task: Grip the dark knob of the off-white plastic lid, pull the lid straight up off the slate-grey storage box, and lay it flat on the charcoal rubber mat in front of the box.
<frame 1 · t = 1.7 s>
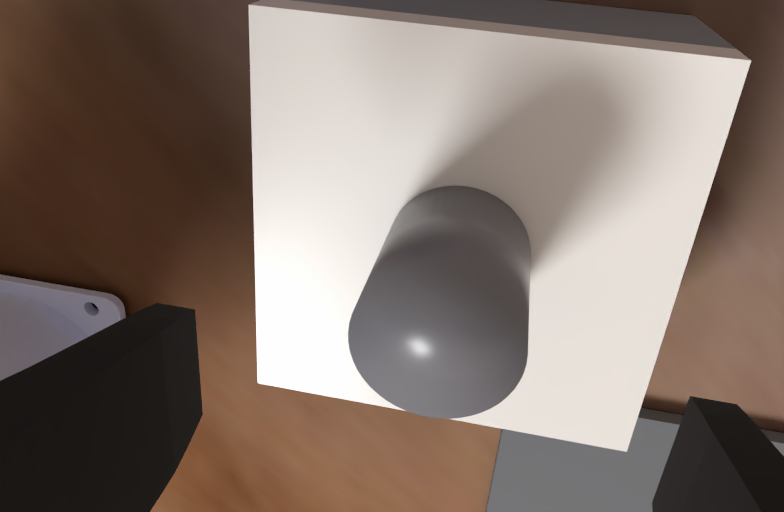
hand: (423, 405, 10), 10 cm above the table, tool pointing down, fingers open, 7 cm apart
lid: (466, 217, 16), point 3 cm above the table, touching storage box
storage box: (477, 169, 19), on the table
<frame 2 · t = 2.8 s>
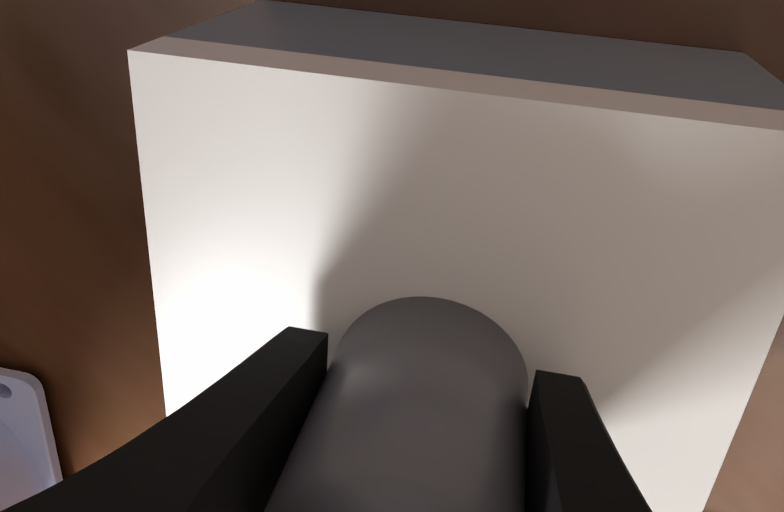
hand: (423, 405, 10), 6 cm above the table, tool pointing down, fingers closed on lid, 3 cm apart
lid: (443, 317, 12), point 3 cm above the table, touching gripper, storage box
storage box: (462, 239, 15), on the table
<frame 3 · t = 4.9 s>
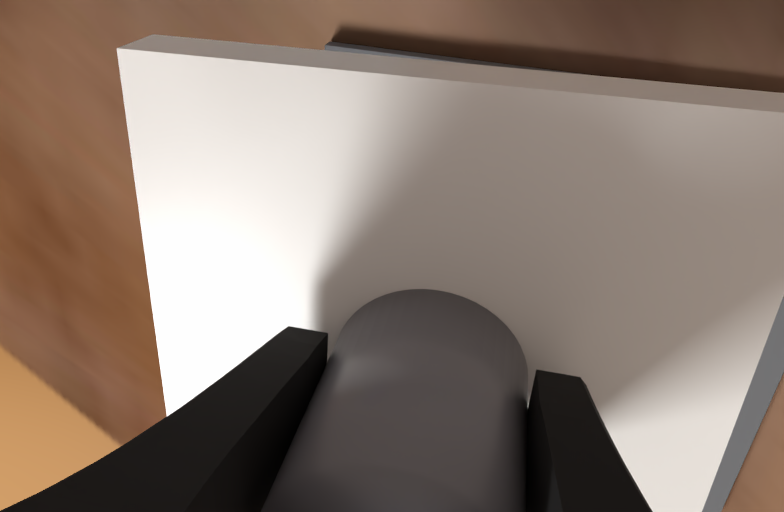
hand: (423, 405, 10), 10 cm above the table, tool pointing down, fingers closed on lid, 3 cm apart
lid: (442, 311, 12), point 8 cm above the table, touching gripper
mat: (543, 305, 21), on the table
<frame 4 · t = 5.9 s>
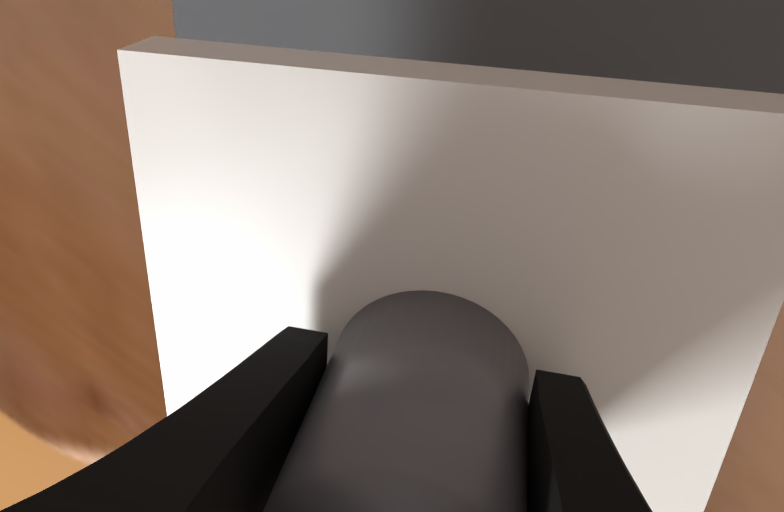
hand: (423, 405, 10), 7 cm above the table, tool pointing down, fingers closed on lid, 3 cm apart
lid: (443, 312, 12), point 5 cm above the table, touching gripper
mat: (468, 205, 17), on the table
when the fingers open (4 cm above the table, at t = 6.8 s): lid drops 1 cm, resting on mat.
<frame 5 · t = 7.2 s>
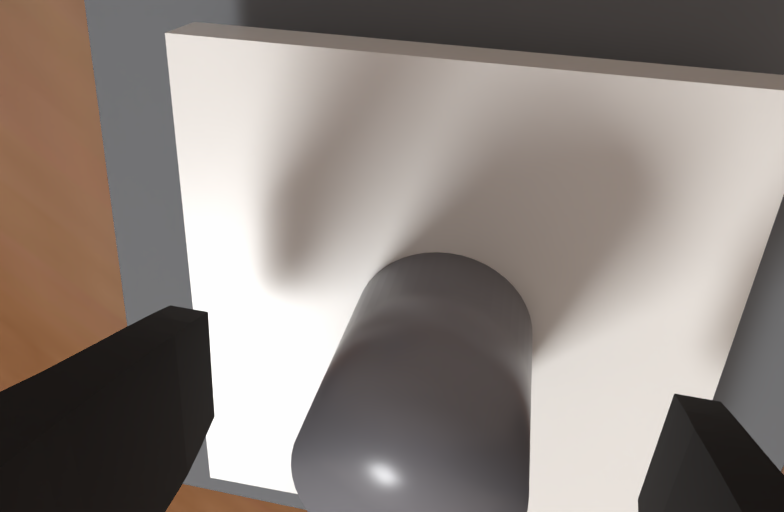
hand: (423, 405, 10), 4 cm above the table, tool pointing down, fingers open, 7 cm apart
lid: (453, 279, 13), resting on mat
mat: (454, 272, 14), on the table
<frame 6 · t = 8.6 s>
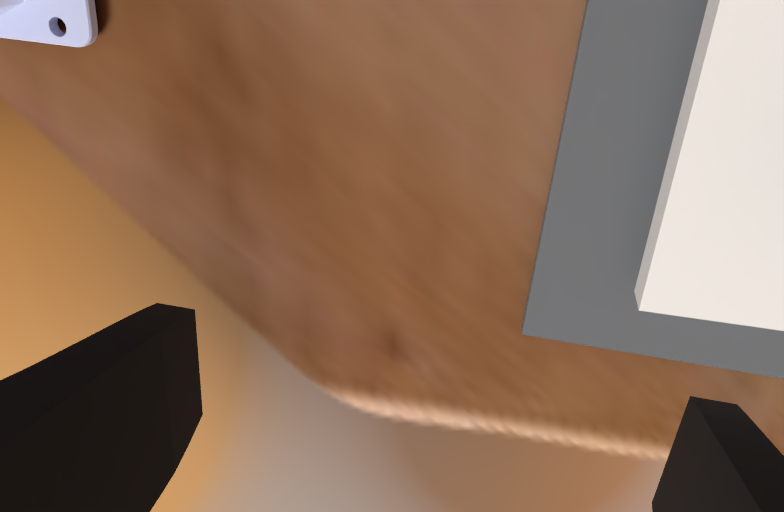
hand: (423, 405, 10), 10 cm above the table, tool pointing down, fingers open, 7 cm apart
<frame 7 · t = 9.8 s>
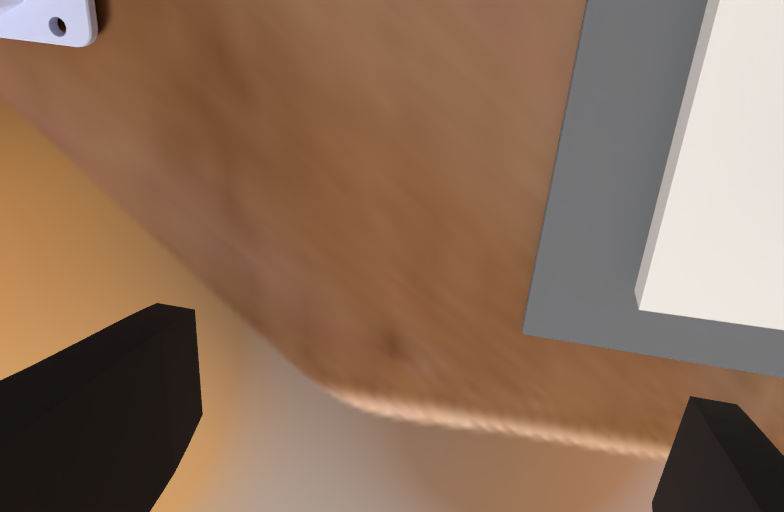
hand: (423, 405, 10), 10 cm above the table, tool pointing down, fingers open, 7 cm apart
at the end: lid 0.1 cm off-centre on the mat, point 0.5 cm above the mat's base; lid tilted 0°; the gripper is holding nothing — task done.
